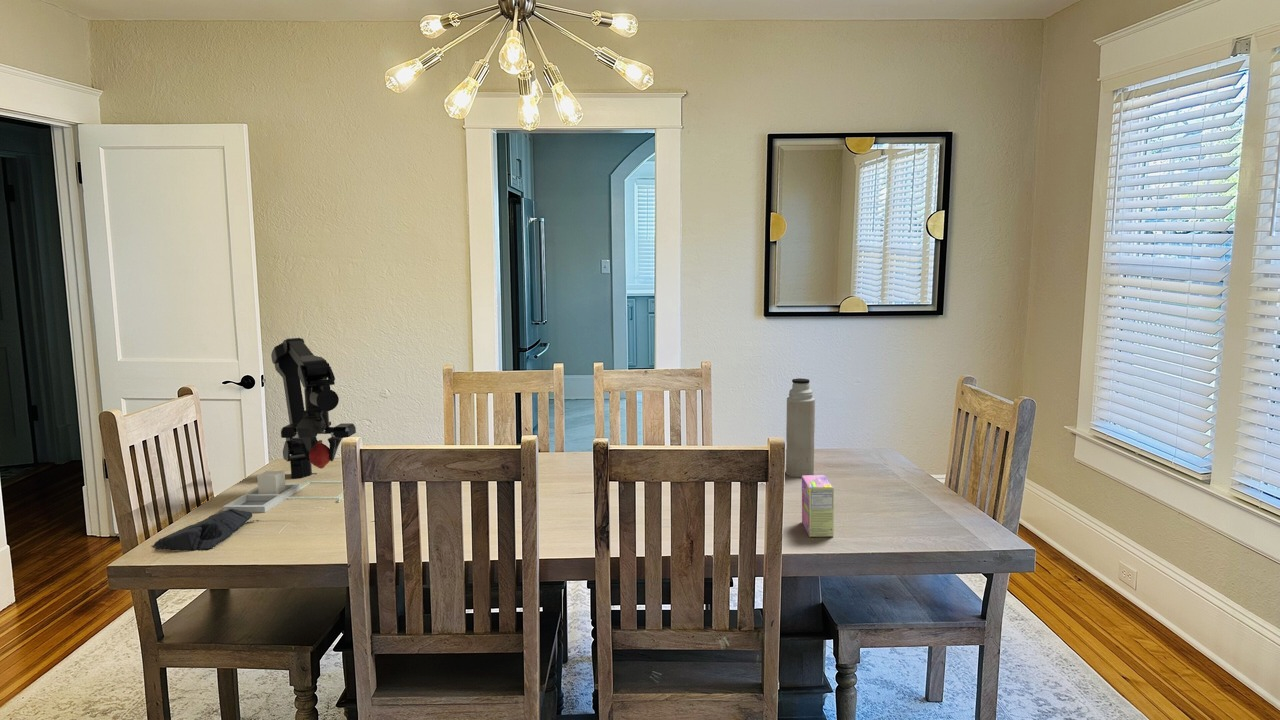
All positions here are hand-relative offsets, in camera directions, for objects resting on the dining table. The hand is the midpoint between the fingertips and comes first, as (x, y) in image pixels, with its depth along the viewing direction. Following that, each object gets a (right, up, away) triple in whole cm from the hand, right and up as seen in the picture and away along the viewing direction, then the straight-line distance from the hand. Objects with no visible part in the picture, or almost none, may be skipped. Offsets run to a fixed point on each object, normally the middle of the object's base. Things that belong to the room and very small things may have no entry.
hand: (320, 461), depth 222 cm
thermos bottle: (+135, -6, +14) cm, 136 cm away
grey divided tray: (-12, -11, -7) cm, 18 cm away
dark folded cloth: (-15, -14, -29) cm, 36 cm away
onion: (0, -2, 0) cm, 2 cm away
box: (+130, -12, -33) cm, 134 cm away
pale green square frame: (0, -9, +1) cm, 9 cm away
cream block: (-12, -9, -2) cm, 15 cm away
